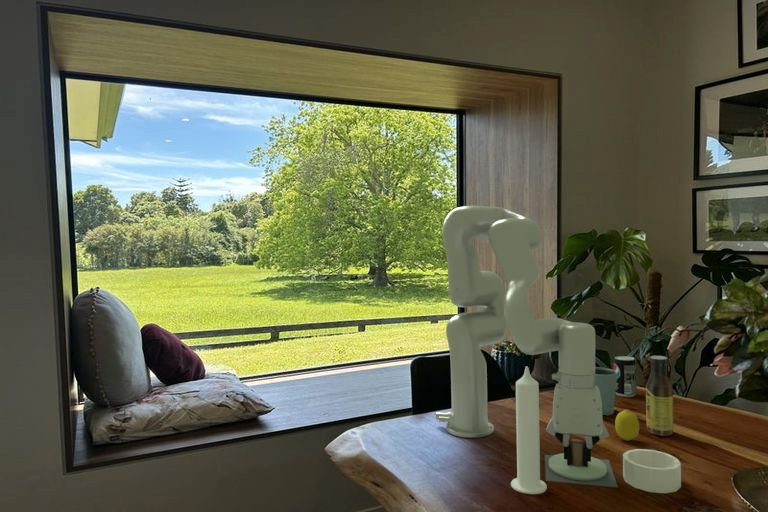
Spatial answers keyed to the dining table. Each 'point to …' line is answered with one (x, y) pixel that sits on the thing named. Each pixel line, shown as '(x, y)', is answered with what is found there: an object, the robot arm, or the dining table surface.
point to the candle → (528, 437)
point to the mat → (605, 481)
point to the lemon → (627, 425)
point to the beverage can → (625, 376)
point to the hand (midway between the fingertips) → (577, 462)
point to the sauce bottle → (659, 398)
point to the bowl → (652, 470)
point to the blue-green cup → (606, 388)
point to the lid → (577, 464)
